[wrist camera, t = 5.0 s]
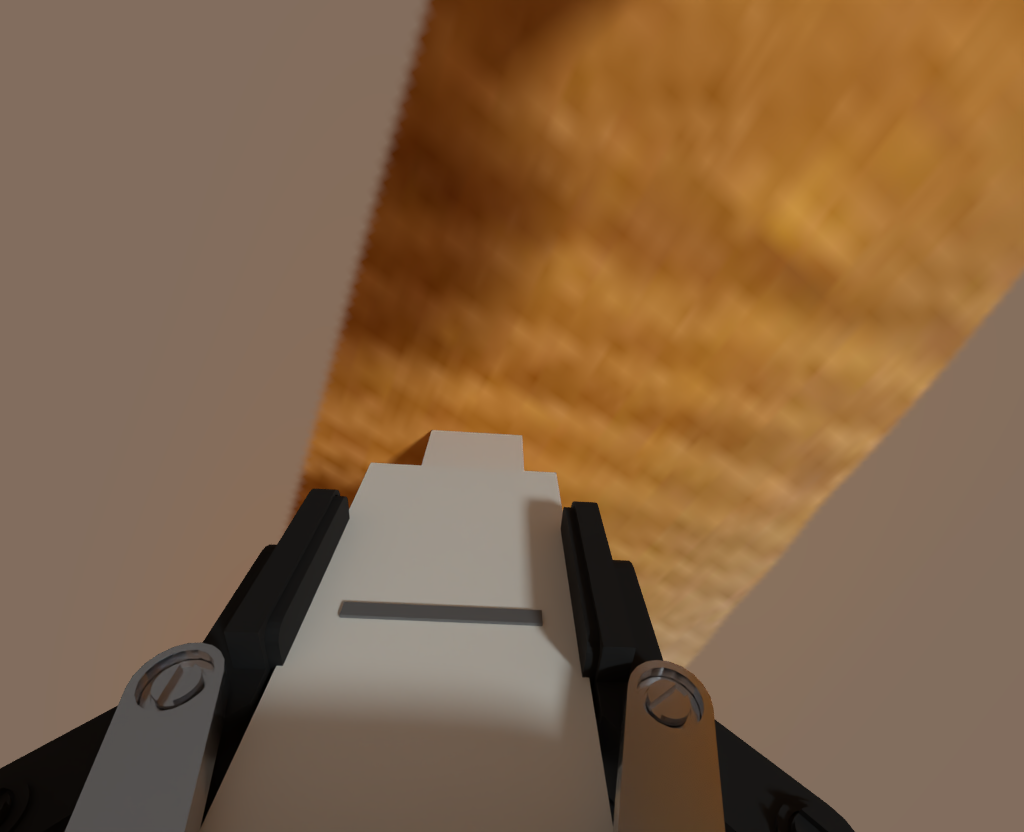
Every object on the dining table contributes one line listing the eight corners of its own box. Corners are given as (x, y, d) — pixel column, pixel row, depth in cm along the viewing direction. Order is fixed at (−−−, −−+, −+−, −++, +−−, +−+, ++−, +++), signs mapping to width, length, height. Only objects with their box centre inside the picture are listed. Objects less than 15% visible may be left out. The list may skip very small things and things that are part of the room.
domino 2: (431, 428, 28) (395, 553, 19) (522, 434, 28) (529, 560, 19) (431, 455, 28) (396, 587, 19) (519, 460, 29) (525, 593, 20)
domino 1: (370, 460, 13) (94, 1047, 4) (556, 470, 14) (650, 1053, 5) (374, 511, 14) (142, 1102, 5) (550, 520, 14) (622, 1105, 5)
